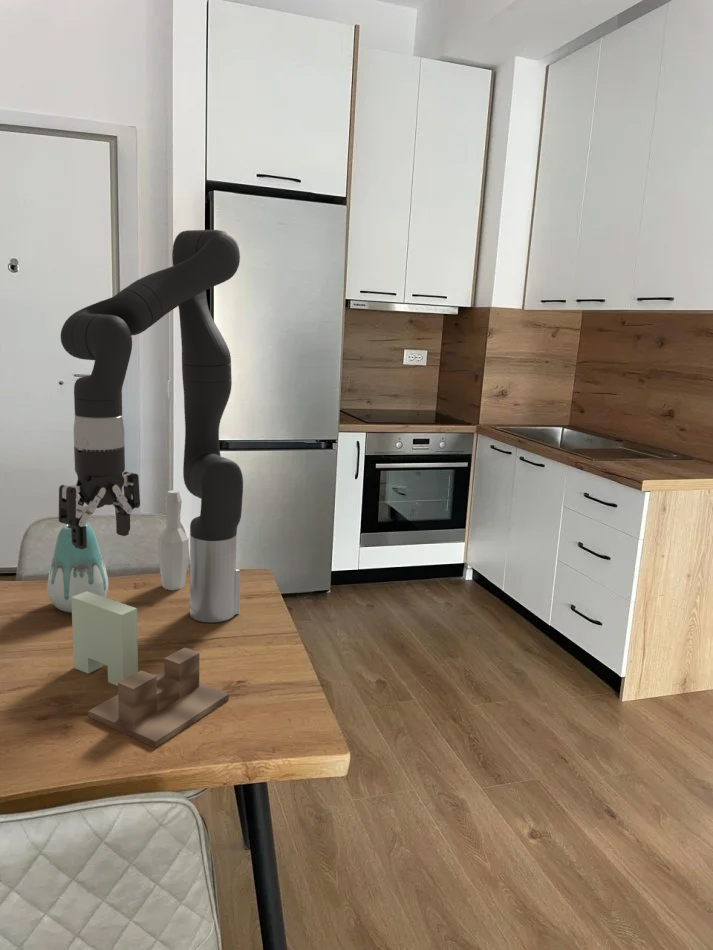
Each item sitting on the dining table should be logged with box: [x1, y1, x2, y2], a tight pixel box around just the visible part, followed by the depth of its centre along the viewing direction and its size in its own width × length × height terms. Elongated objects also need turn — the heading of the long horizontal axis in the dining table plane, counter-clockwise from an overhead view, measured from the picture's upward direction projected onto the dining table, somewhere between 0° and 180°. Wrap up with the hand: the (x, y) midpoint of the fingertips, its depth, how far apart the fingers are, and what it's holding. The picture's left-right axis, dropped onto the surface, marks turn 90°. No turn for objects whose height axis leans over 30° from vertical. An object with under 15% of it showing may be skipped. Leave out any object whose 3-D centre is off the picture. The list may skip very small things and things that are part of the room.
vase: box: [46, 521, 109, 614], centre depth 146 cm, size 12×12×18 cm
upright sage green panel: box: [71, 592, 139, 687], centre depth 120 cm, size 3×12×13 cm, turn 60°
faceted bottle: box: [157, 489, 190, 591], centre depth 158 cm, size 6×6×22 cm
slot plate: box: [88, 647, 230, 749], centre depth 112 cm, size 16×14×7 cm
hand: (102, 541), depth 116 cm, fingers open, 8 cm apart
